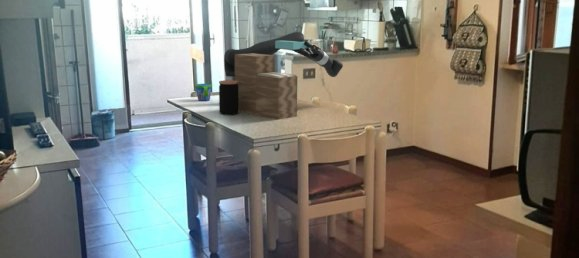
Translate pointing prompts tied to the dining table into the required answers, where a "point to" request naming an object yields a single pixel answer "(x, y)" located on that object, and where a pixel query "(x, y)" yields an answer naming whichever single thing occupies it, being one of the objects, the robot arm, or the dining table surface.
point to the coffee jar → (228, 97)
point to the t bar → (290, 45)
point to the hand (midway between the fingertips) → (302, 42)
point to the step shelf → (265, 87)
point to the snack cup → (203, 91)
